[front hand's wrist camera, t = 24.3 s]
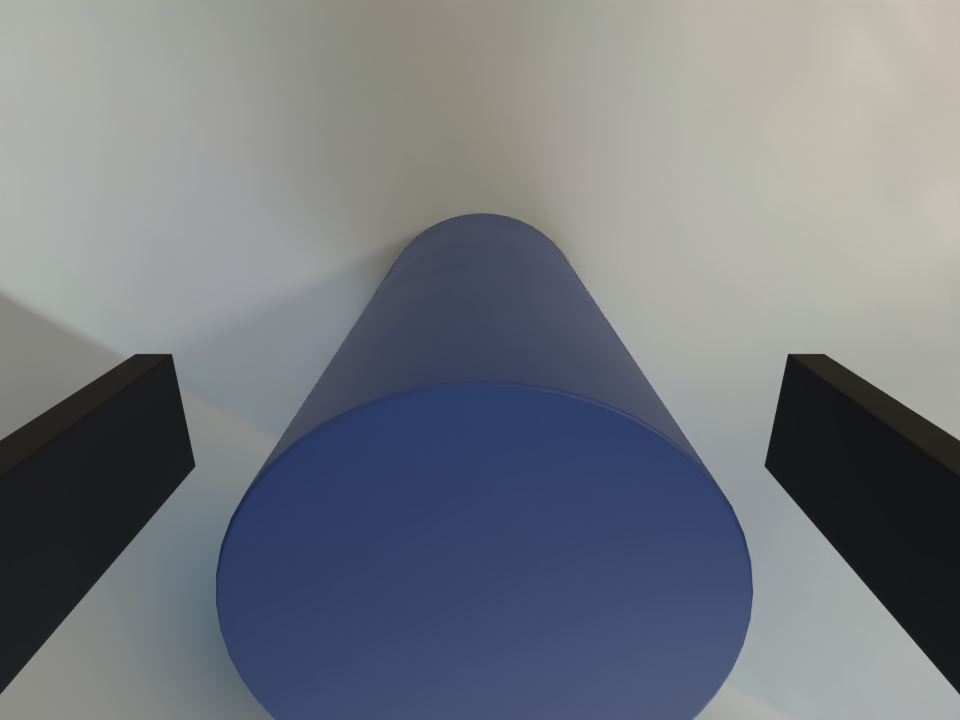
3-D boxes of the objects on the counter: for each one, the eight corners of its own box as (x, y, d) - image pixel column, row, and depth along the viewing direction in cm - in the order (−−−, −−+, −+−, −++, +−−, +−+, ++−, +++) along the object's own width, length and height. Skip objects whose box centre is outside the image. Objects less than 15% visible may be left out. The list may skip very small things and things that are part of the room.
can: (577, 400, 20) (718, 795, 8) (392, 405, 20) (263, 802, 8) (584, 210, 18) (800, 374, 6) (374, 216, 18) (155, 390, 6)
